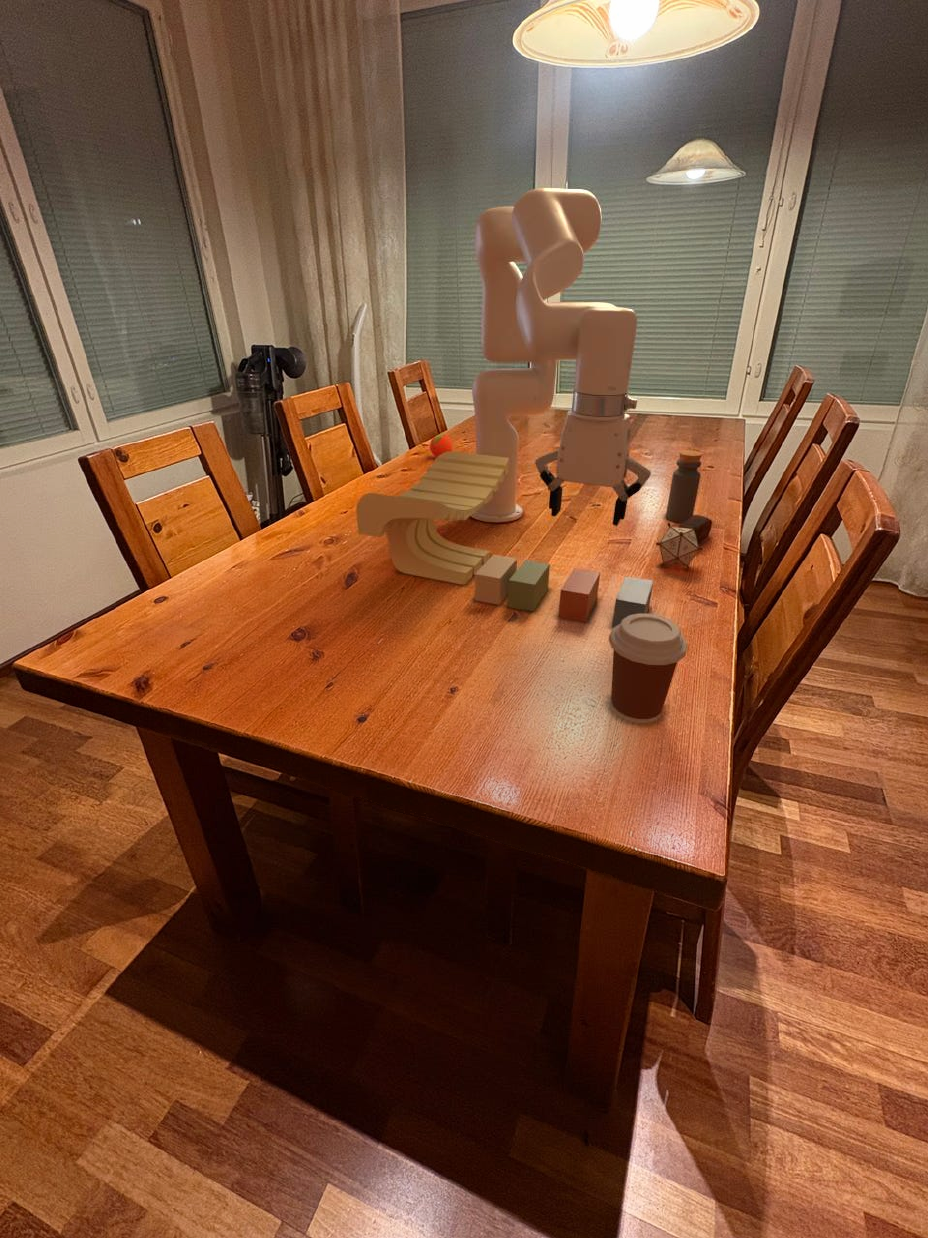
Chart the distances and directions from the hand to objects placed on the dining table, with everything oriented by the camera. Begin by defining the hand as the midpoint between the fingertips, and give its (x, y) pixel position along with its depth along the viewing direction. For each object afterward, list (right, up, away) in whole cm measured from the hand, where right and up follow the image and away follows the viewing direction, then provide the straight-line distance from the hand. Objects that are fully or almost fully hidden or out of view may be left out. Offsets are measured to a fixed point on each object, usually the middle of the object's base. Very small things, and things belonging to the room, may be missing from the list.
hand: (585, 518), depth 95 cm
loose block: (0, -14, +7) cm, 15 cm away
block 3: (+8, -16, +4) cm, 18 cm away
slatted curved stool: (-24, -5, +22) cm, 33 cm away
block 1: (-13, -11, +12) cm, 21 cm away
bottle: (+31, +7, +45) cm, 55 cm away
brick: (+29, 0, +32) cm, 43 cm away
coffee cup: (+3, -27, -17) cm, 32 cm away
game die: (+22, -6, +22) cm, 31 cm away
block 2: (-8, -12, +10) cm, 17 cm away
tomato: (-26, +33, +91) cm, 100 cm away
